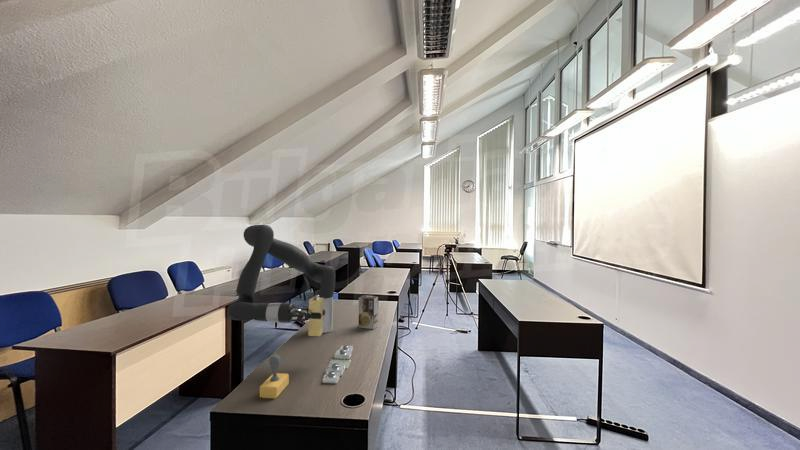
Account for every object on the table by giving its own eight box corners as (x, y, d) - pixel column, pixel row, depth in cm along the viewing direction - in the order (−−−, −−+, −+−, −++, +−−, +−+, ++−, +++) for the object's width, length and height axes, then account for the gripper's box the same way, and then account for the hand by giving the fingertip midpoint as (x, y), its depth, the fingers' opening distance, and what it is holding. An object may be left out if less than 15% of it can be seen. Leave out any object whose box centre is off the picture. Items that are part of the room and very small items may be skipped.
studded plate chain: (338, 348, 153) (338, 342, 153) (356, 349, 153) (356, 343, 153) (318, 382, 122) (318, 374, 122) (340, 383, 121) (341, 375, 121)
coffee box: (378, 326, 187) (379, 296, 186) (373, 329, 180) (374, 298, 180) (363, 324, 190) (363, 294, 189) (357, 327, 183) (358, 297, 183)
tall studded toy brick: (311, 331, 140) (312, 294, 139) (322, 332, 140) (323, 294, 139) (308, 335, 135) (308, 296, 135) (319, 336, 135) (320, 297, 135)
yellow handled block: (273, 383, 121) (273, 349, 121) (289, 384, 121) (289, 349, 120) (259, 397, 111) (259, 360, 111) (276, 398, 111) (277, 361, 111)
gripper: (273, 307, 131) (318, 309, 130) (287, 298, 145) (327, 300, 144) (273, 327, 131) (317, 329, 130) (287, 316, 145) (327, 318, 144)
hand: (322, 314), depth 137 cm, fingers closed on tall studded toy brick, 4 cm apart
